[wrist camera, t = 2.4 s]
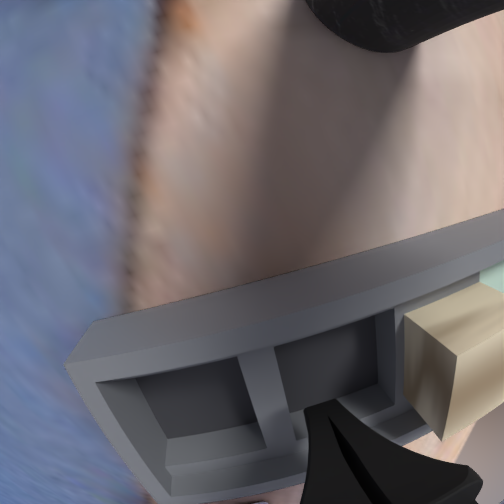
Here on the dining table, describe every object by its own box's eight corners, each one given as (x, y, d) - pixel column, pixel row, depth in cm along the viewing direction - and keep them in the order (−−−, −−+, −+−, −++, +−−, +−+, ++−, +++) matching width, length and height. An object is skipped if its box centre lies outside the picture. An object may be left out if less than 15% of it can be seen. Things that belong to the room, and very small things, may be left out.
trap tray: (517, 328, 18) (550, 349, 14) (165, 458, 17) (160, 506, 13) (524, 201, 16) (567, 210, 12) (93, 321, 14) (63, 364, 10)
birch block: (472, 359, 15) (514, 393, 11) (403, 394, 14) (441, 441, 11) (479, 281, 14) (533, 308, 10) (404, 314, 13) (457, 356, 9)
